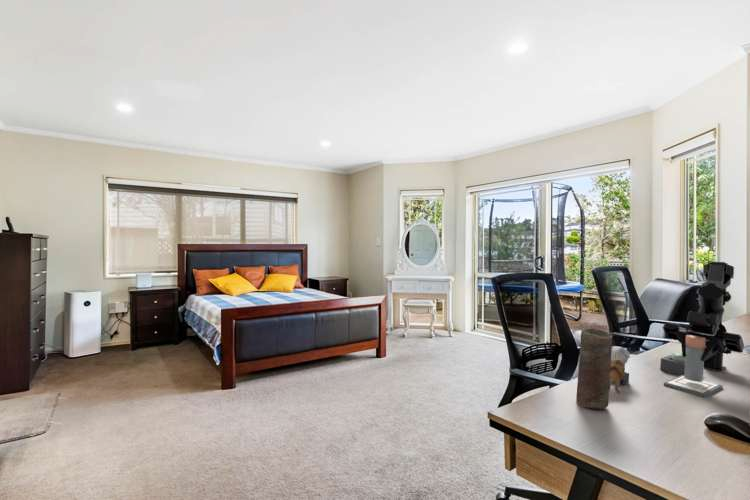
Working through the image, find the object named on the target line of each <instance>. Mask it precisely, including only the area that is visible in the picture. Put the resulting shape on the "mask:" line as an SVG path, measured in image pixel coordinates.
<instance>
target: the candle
mask: <svg viewBox="0 0 750 500" xmlns="http://www.w3.org/2000/svg"><path fill="white" fill-rule="evenodd" d="M579 344H580V347H579V358H578V373H577V385H576V386H577V387H576V399H575V402H576V403H578V404H579V405H581V406H582V407H584V408H585V407H586V408H587V407H588V408H589V409H590V408H591V409H595V410H603V409H607V408H608V406H609V399H610V398H609V397H610V389H609V385H610V386H611V382H610V368H611V350H612V347H613V335H612V334H610V333H608V331H605V330H601V329H597V328H582V329H581V333H580V343H579Z"/></svg>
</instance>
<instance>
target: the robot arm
mask: <svg viewBox="0 0 750 500" xmlns="http://www.w3.org/2000/svg"><path fill="white" fill-rule="evenodd" d="M702 275H703V277H705V282H703V283H701V285H700V287H699V288H697V290H696V293H695V297H696V298H695V299H696V300H698V304H699V305H698V306H699V308H698V312H697V311H691V310H690V311H688V313H687V318H686V322H688V328H689V329H687V328H685V327H681V323H680V324H679V323H674V322H665V323H664V324H663V327H662V330H663V332H664V333H665V336H666V338H667V339H670V340H674V341H678V342H679V343H680V344H681V346H680V347H681V354H682V356H683V357H685V352H686V345H685V344H686V335H695V336H701V337H704V338H706V342H705V351H704V353H703V356H702V361H704V368H706V369H709V370H712V371H717V372H722V371H725V370H726V369H727V367H726V366H724V365H723V363H724V362H723V361H724V354H726V355H729V354H730V355H731V354H732V352H735V353H740V354H741V353H744V348H745V344H744V340H743V336H742V335H740V334H737V333H732V332H728V330H727V329H726V326H725V325H724V324H723V323H722V322H723V317H724V316H723V315H724V313H725V308H724V306H725V305H726V303H729V302H730V301H731V300H732V295H731V294H730V292H729V291H727V288H729V286H730V285H731V284H732V283H731V281H732V279H734V277H735V276H734V275H735V267H734V266H732V265H729V264H728V263H727V262H724V261H709V262H708V263H706V264H703V269H702ZM690 329H691V330H690Z"/></svg>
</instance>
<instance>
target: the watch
mask: <svg viewBox="0 0 750 500" xmlns="http://www.w3.org/2000/svg"><path fill="white" fill-rule="evenodd" d="M630 356H631V355H630V352H629V351H628V350H627V349H626V348H624V347H623V346H618V345H617V346H616V345H612V350H611V360H613V359H620V360H621V361H622V362H623V363H624V365H626V364H627V363H628V361H629V358H630ZM611 383H612V384H615V382H614V381H613V382H610V384H611ZM629 383H630V372H627V371H626V372H625V373H624V377H623V379H622V380H620V385H619V386H622V387H624V386H626V385H627V384H629Z"/></svg>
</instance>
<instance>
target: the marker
mask: <svg viewBox="0 0 750 500" xmlns="http://www.w3.org/2000/svg"><path fill="white" fill-rule="evenodd" d="M705 342H706V338H704V337H701V336H695V335H686V344H685V345H686V352H685V370H684V378H686V379H688V380H692V381H697V382H702V381H703V380H704V361H702V356H703V353H704V351H705Z"/></svg>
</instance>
